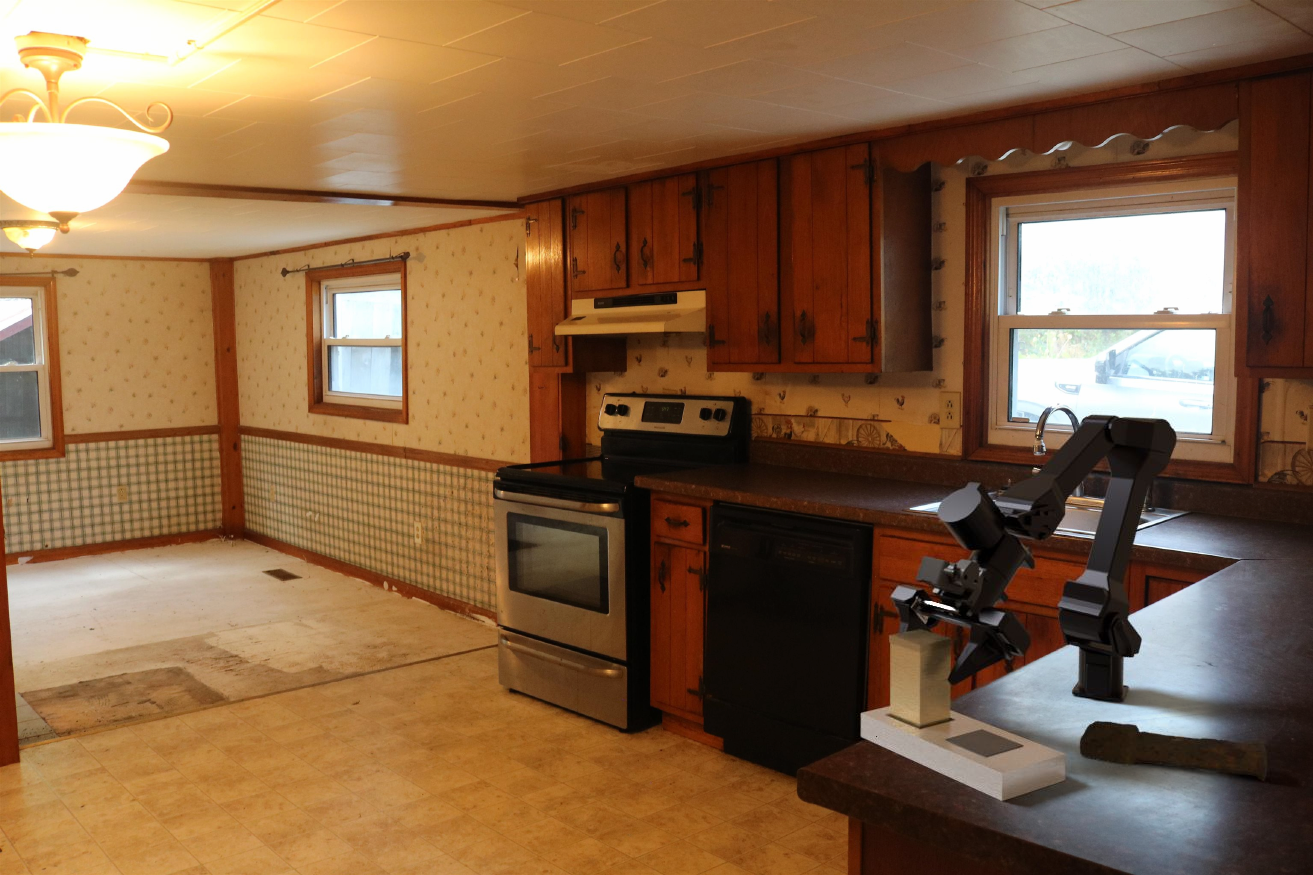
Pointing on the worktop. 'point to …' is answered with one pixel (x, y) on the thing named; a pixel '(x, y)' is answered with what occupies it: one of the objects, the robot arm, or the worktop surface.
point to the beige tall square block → (920, 678)
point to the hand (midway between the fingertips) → (921, 673)
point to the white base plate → (970, 753)
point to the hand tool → (1171, 750)
